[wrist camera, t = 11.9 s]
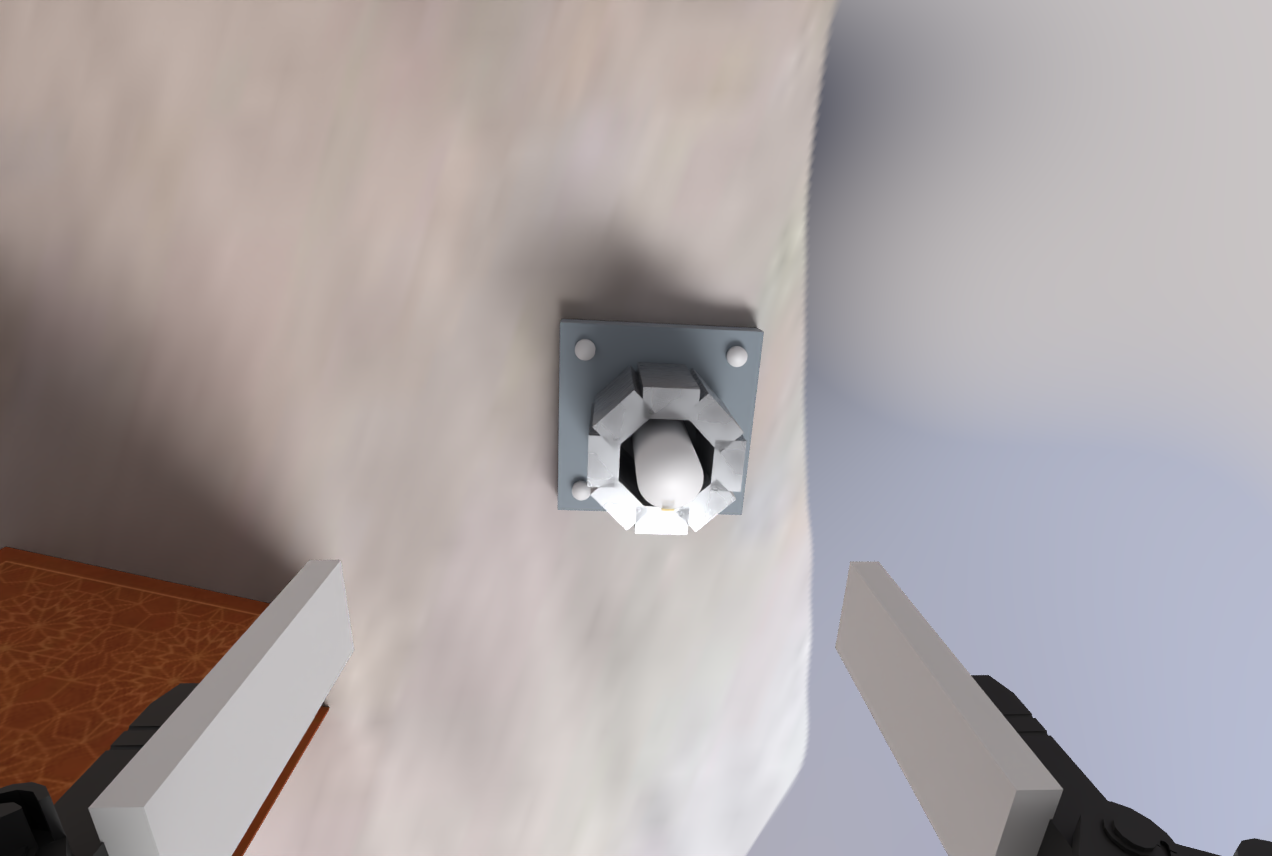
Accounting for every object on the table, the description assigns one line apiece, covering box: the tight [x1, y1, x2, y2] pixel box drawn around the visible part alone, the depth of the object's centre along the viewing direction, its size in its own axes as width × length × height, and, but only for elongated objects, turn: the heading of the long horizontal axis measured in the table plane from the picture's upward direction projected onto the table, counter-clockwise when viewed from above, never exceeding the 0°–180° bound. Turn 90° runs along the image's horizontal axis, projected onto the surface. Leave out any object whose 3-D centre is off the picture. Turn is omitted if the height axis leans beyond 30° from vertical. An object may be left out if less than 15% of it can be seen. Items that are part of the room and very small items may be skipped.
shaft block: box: [558, 319, 764, 515], centre depth 33 cm, size 12×12×10 cm
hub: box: [587, 362, 747, 535], centre depth 33 cm, size 8×8×6 cm
